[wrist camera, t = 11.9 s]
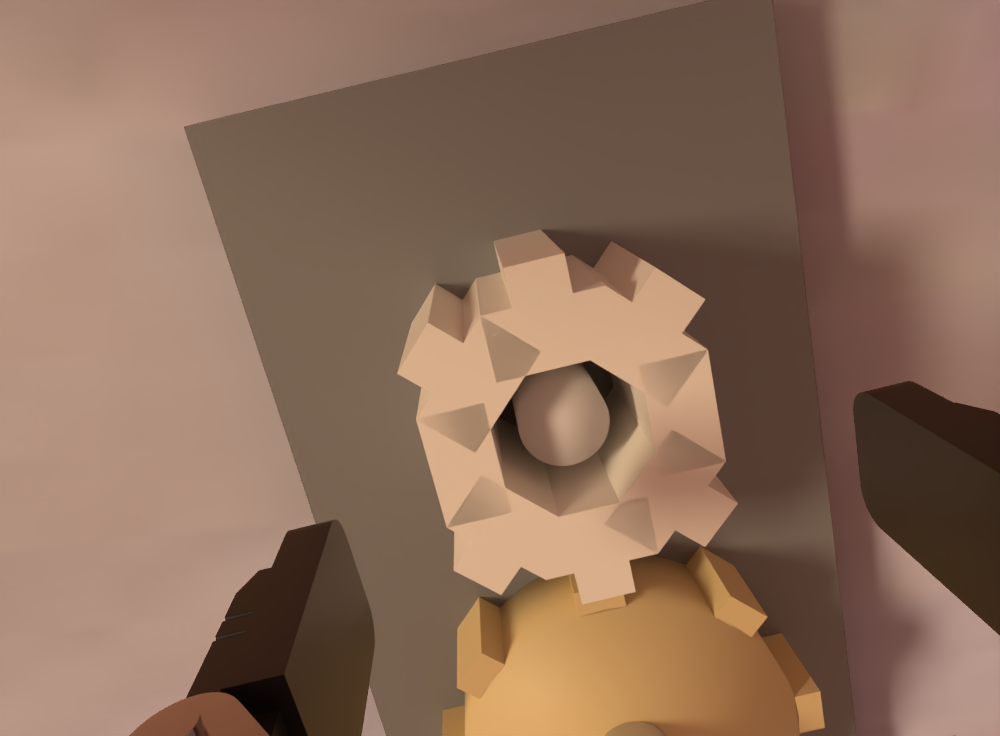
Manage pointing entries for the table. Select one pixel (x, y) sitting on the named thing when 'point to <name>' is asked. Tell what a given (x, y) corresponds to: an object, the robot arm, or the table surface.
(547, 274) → the loose gear
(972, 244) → the table surface
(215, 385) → the table surface
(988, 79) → the table surface
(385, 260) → the gear board
